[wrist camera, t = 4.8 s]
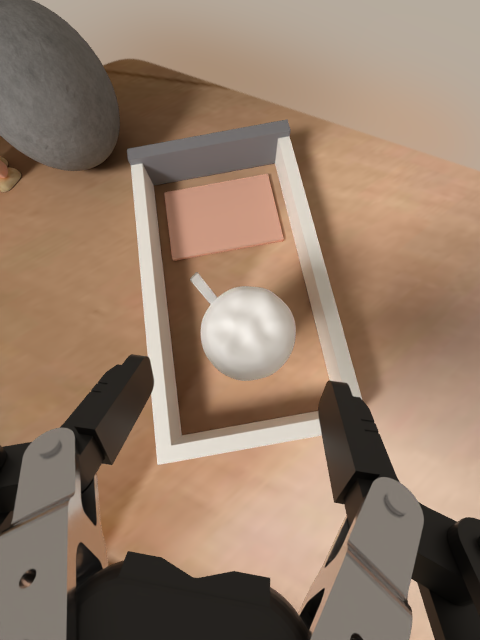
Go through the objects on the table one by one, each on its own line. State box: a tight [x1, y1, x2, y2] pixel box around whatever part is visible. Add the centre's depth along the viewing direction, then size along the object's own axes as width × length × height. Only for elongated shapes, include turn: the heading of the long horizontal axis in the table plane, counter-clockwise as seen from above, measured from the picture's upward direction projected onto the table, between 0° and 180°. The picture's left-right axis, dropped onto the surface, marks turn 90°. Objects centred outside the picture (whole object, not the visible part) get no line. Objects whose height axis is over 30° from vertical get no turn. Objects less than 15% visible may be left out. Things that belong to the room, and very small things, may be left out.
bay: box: [127, 120, 362, 465], centre depth 19 cm, size 14×25×3 cm, turn 10°
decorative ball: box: [0, 0, 120, 171], centre depth 19 cm, size 10×10×10 cm
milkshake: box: [190, 272, 296, 381], centre depth 14 cm, size 4×5×10 cm
